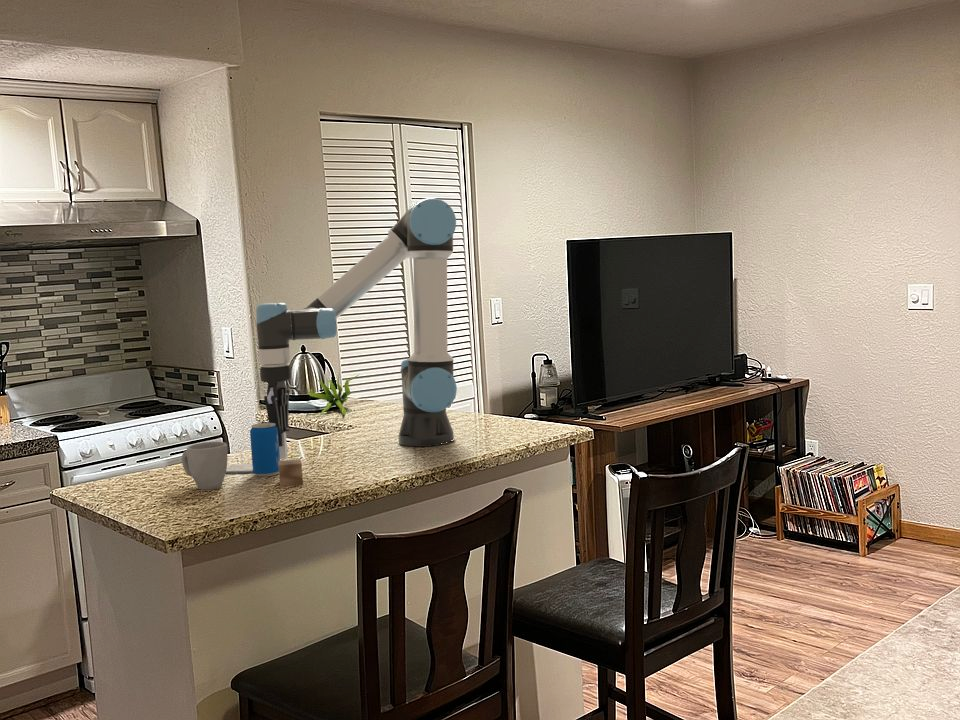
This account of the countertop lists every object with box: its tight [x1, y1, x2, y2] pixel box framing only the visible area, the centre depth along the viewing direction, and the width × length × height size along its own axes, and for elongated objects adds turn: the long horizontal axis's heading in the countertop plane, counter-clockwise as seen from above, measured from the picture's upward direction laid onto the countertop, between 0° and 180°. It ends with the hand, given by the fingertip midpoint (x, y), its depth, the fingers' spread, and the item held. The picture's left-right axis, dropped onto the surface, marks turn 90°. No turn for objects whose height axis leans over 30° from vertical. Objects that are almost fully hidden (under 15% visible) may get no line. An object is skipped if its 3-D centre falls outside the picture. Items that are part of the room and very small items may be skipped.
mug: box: [181, 441, 228, 491], centre depth 209 cm, size 12×9×10 cm
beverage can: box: [249, 422, 281, 478], centre depth 219 cm, size 6×6×12 cm
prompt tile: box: [225, 463, 254, 475], centre depth 226 cm, size 9×9×1 cm
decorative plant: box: [307, 371, 360, 417], centre depth 312 cm, size 18×30×15 cm, turn 165°
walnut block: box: [278, 458, 304, 488], centre depth 209 cm, size 5×5×5 cm
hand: (281, 458), depth 231 cm, fingers closed
